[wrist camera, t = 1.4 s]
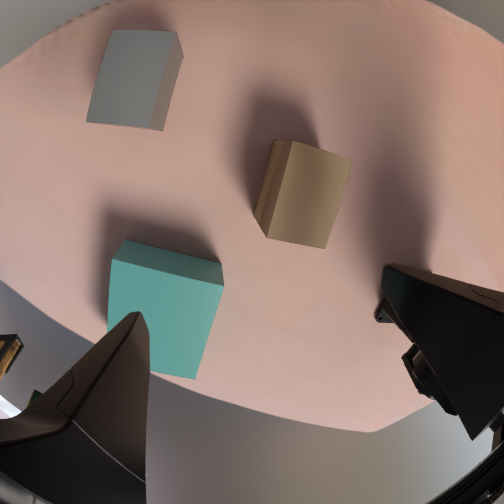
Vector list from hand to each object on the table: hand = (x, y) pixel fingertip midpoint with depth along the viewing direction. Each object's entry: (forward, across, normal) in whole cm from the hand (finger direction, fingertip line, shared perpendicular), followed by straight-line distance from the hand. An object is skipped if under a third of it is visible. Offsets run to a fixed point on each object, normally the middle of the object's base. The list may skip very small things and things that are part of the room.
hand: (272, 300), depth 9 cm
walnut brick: (+12, -4, -1) cm, 13 cm away
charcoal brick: (+13, +5, -10) cm, 17 cm away
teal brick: (+13, +7, +7) cm, 16 cm away
